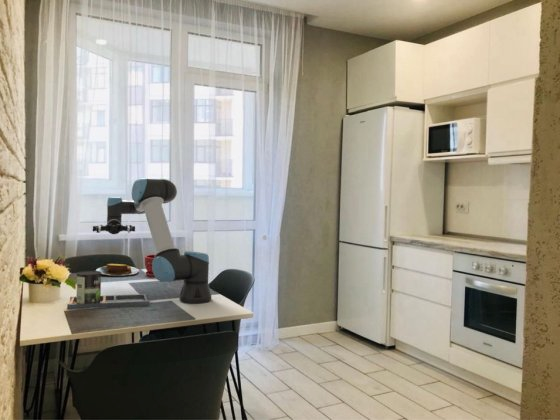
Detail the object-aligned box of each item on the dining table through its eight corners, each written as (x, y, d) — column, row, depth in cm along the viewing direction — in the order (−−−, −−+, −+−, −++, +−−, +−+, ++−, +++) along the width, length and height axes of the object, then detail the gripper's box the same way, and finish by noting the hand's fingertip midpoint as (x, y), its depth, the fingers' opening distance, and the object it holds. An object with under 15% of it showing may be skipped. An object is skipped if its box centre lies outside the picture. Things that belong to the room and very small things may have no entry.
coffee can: (104, 301, 218) (104, 271, 217) (95, 306, 207) (95, 275, 207) (82, 300, 218) (82, 270, 217) (71, 306, 208) (72, 274, 207)
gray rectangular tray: (147, 297, 228) (147, 293, 228) (149, 305, 214) (149, 301, 214) (70, 301, 217) (70, 296, 217) (67, 309, 203) (67, 304, 203)
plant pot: (139, 275, 285) (140, 256, 285) (155, 272, 297) (155, 253, 296) (156, 278, 279) (156, 258, 279) (171, 275, 291) (171, 255, 290)
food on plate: (139, 270, 306) (139, 260, 306) (139, 277, 282) (139, 266, 282) (96, 270, 298) (97, 260, 298) (93, 278, 275) (94, 266, 274)
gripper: (138, 233, 257) (140, 237, 237) (88, 233, 248) (86, 237, 228) (138, 219, 256) (140, 222, 236) (89, 219, 248) (86, 222, 228)
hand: (114, 230), depth 232 cm, fingers open, 13 cm apart
